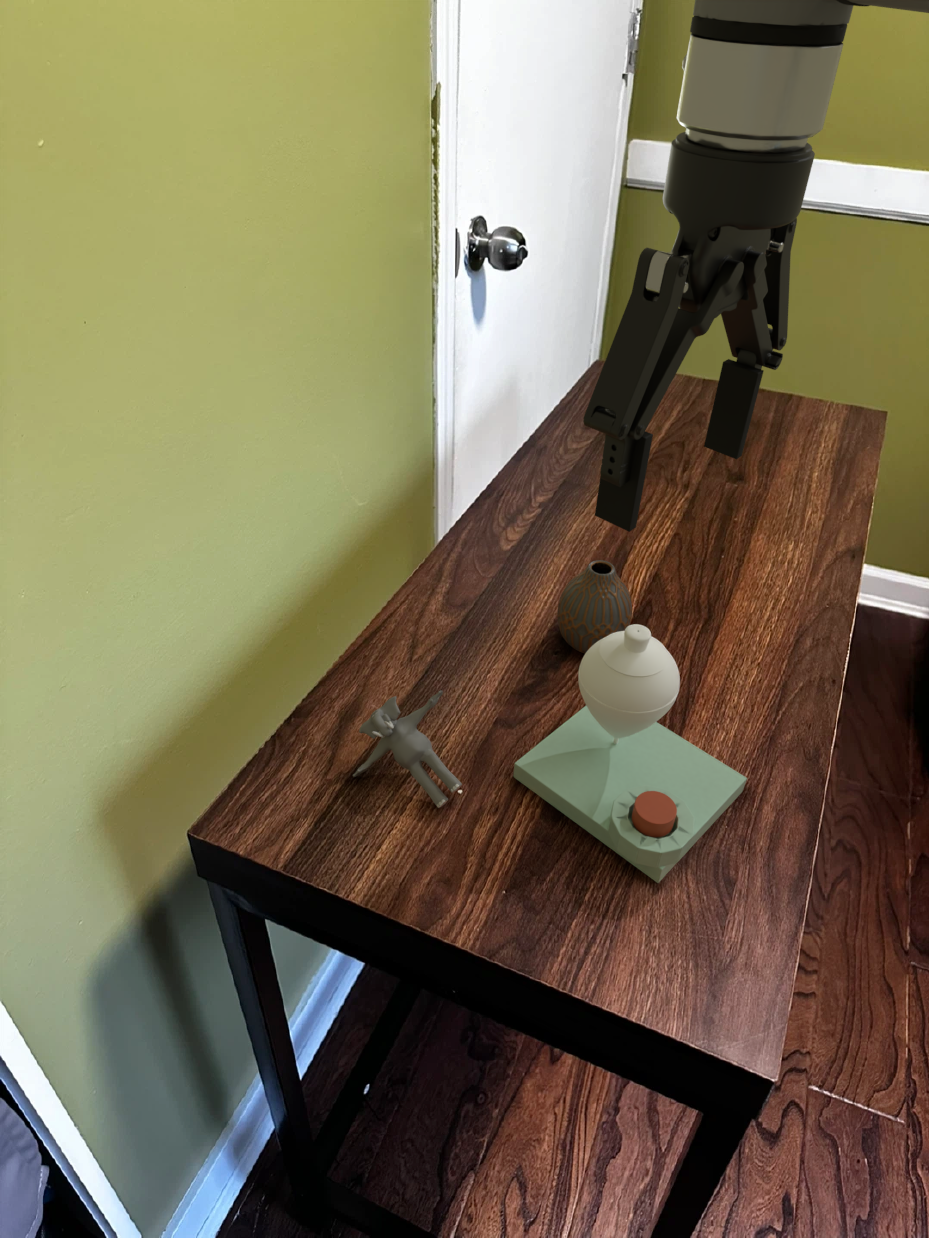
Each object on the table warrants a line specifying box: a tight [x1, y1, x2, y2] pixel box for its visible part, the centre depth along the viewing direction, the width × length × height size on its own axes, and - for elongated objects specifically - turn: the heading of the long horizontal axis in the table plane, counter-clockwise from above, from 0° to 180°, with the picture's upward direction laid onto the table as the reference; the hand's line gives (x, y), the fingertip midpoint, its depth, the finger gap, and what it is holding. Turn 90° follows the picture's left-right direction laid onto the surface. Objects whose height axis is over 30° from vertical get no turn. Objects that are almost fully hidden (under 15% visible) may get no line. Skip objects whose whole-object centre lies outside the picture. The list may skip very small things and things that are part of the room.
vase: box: [556, 559, 633, 655], centre depth 80 cm, size 7×7×9 cm
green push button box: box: [512, 705, 748, 884], centre depth 67 cm, size 14×13×4 cm
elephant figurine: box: [352, 690, 463, 809], centre depth 67 cm, size 10×6×9 cm
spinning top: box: [577, 623, 681, 744], centre depth 66 cm, size 8×8×12 cm
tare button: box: [632, 791, 677, 837], centre depth 62 cm, size 3×3×2 cm
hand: (672, 484), depth 59 cm, fingers open, 13 cm apart
